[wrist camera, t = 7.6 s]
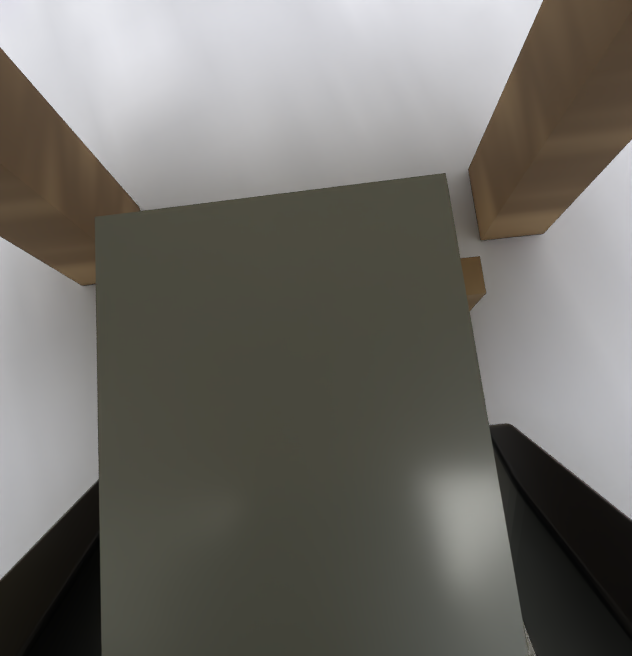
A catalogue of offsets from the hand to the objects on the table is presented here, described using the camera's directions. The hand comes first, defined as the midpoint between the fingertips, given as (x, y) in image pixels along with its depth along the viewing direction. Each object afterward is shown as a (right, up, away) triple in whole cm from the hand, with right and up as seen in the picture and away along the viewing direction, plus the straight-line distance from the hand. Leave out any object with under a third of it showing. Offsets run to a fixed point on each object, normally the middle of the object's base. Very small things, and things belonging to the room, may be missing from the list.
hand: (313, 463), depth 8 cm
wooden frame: (0, +2, +9) cm, 9 cm away
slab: (+1, -2, +8) cm, 8 cm away
